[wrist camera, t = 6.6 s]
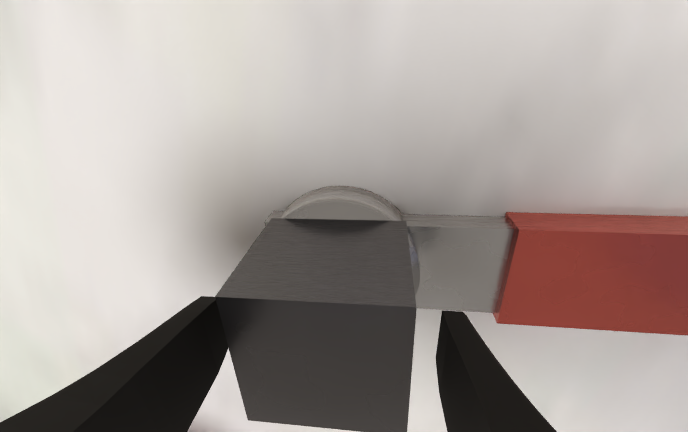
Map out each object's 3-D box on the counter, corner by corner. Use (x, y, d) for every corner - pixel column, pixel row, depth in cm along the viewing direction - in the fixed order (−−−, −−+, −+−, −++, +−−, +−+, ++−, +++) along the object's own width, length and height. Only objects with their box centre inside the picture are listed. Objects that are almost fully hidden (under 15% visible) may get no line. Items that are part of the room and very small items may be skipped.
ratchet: (763, 190, 11) (946, 256, 8) (684, 326, 14) (790, 422, 10) (266, 183, 14) (219, 231, 10) (282, 302, 16) (252, 374, 13)
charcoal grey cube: (406, 220, 12) (416, 307, 8) (400, 325, 14) (406, 436, 10) (271, 218, 12) (215, 296, 8) (286, 319, 14) (247, 420, 10)
